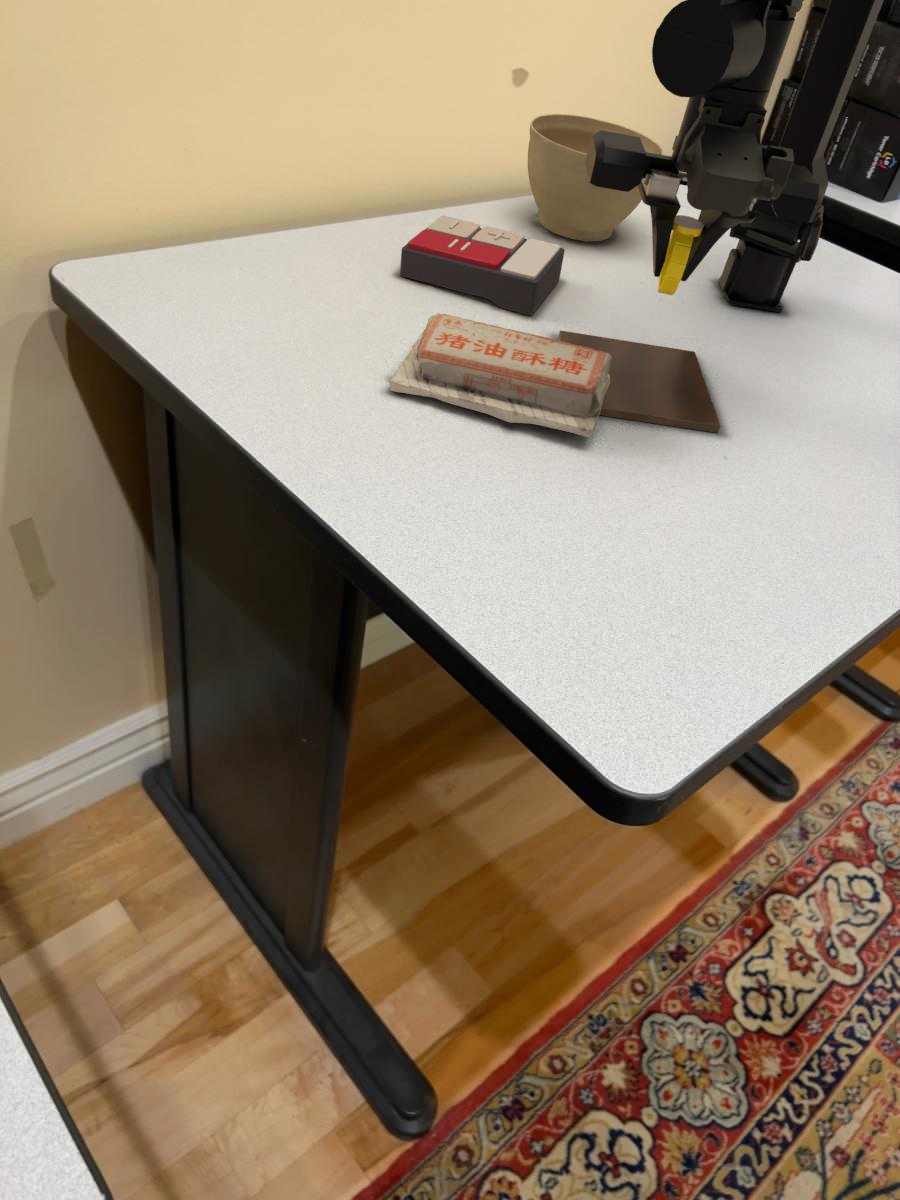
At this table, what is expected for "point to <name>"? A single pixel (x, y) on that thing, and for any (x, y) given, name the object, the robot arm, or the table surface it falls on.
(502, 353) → the packaged product
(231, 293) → the table surface
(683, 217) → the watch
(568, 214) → the planter bowl
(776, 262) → the robot arm
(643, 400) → the coaster
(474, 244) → the calculator
